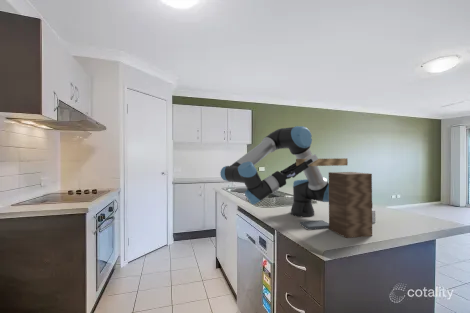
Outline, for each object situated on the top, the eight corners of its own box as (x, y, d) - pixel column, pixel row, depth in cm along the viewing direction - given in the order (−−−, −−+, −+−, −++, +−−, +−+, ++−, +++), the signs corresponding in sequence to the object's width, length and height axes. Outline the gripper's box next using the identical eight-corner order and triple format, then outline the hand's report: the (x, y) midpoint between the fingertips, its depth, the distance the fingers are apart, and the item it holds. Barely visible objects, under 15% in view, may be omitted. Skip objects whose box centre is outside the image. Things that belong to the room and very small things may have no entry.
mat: (308, 229, 123) (308, 226, 123) (299, 224, 133) (299, 221, 133) (332, 227, 125) (332, 225, 125) (322, 222, 135) (322, 220, 135)
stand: (346, 238, 110) (345, 174, 110) (329, 229, 124) (328, 172, 124) (372, 235, 113) (371, 173, 113) (352, 227, 126) (351, 171, 126)
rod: (299, 166, 111) (299, 158, 111) (296, 165, 115) (296, 158, 115) (347, 165, 117) (347, 158, 117) (342, 165, 120) (342, 158, 120)
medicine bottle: (375, 223, 134) (375, 202, 134) (362, 222, 135) (361, 201, 135) (370, 219, 141) (370, 200, 141) (358, 219, 142) (357, 199, 142)
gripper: (272, 186, 119) (309, 162, 123) (286, 190, 103) (327, 163, 107) (265, 173, 119) (302, 150, 123) (278, 176, 102) (319, 149, 106)
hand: (313, 156), depth 115 cm, fingers closed on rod, 3 cm apart
